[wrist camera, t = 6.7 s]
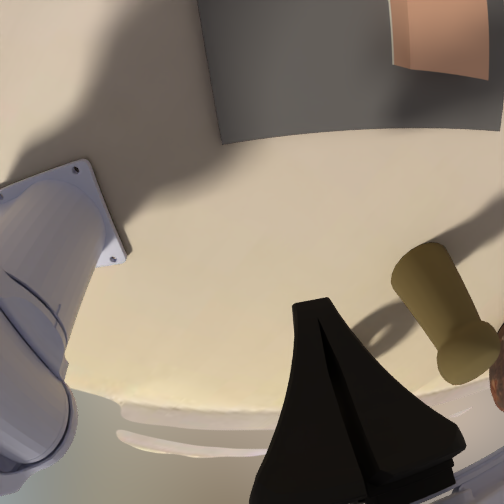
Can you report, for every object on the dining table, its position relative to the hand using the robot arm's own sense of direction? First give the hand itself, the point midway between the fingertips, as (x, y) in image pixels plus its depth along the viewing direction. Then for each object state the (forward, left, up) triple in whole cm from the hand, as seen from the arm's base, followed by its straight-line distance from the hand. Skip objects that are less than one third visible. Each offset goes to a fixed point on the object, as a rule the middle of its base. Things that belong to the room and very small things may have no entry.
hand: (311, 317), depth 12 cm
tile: (+7, +11, -8) cm, 16 cm away
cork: (+12, -9, -10) cm, 18 cm away
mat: (+7, +11, -10) cm, 16 cm away
